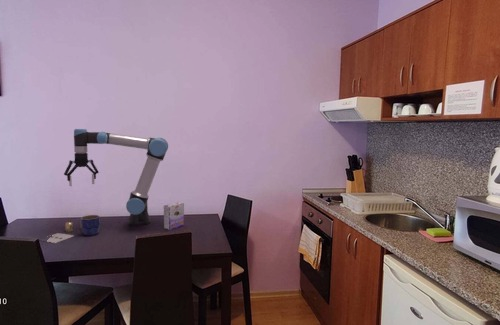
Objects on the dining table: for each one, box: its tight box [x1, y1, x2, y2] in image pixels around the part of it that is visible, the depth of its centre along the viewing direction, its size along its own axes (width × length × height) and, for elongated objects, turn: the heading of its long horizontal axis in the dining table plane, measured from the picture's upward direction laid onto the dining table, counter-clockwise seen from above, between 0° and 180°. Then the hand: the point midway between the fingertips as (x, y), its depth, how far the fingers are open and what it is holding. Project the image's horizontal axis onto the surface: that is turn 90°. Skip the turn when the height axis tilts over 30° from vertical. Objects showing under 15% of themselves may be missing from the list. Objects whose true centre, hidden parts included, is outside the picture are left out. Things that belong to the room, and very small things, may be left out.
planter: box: [80, 214, 101, 237], centre depth 207 cm, size 11×11×11 cm
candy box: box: [163, 201, 185, 231], centre depth 224 cm, size 14×6×16 cm, turn 145°
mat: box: [46, 232, 75, 244], centre depth 199 cm, size 14×14×1 cm
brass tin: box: [65, 221, 74, 233], centre depth 212 cm, size 4×4×6 cm
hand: (82, 185), depth 211 cm, fingers open, 13 cm apart
